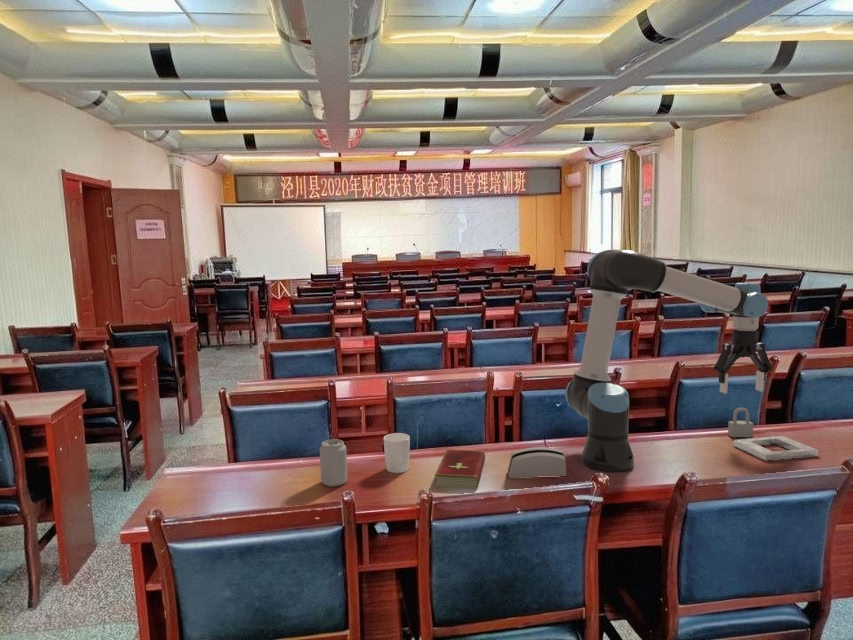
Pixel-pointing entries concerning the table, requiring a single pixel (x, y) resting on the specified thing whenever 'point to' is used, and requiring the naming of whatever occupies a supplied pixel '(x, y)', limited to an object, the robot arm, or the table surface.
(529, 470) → the napkin holder
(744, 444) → the holed plate
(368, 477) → the table surface
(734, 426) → the padlock
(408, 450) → the white cup
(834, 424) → the table surface
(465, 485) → the hardcover book
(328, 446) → the can
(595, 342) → the robot arm
